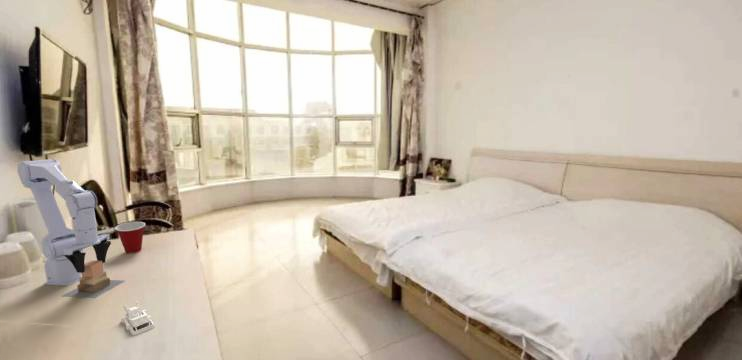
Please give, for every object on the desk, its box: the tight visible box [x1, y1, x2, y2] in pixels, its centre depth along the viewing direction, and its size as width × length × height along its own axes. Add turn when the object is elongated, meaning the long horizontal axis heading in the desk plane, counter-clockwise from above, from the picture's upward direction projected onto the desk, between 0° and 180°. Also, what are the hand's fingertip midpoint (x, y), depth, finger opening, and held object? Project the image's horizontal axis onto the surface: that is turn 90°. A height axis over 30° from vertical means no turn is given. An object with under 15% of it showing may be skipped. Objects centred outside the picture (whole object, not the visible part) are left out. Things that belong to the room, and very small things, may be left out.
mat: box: [61, 279, 125, 299], centre depth 115 cm, size 12×12×1 cm
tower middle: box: [78, 270, 108, 285], centre depth 114 cm, size 5×5×2 cm
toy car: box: [120, 300, 156, 336], centre depth 95 cm, size 6×12×4 cm, turn 49°
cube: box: [82, 260, 104, 277], centre depth 113 cm, size 4×4×4 cm
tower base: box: [76, 277, 111, 293], centre depth 114 cm, size 6×6×2 cm
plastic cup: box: [114, 221, 146, 254], centre depth 147 cm, size 11×11×12 cm
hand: (91, 267), depth 113 cm, fingers open, 7 cm apart
